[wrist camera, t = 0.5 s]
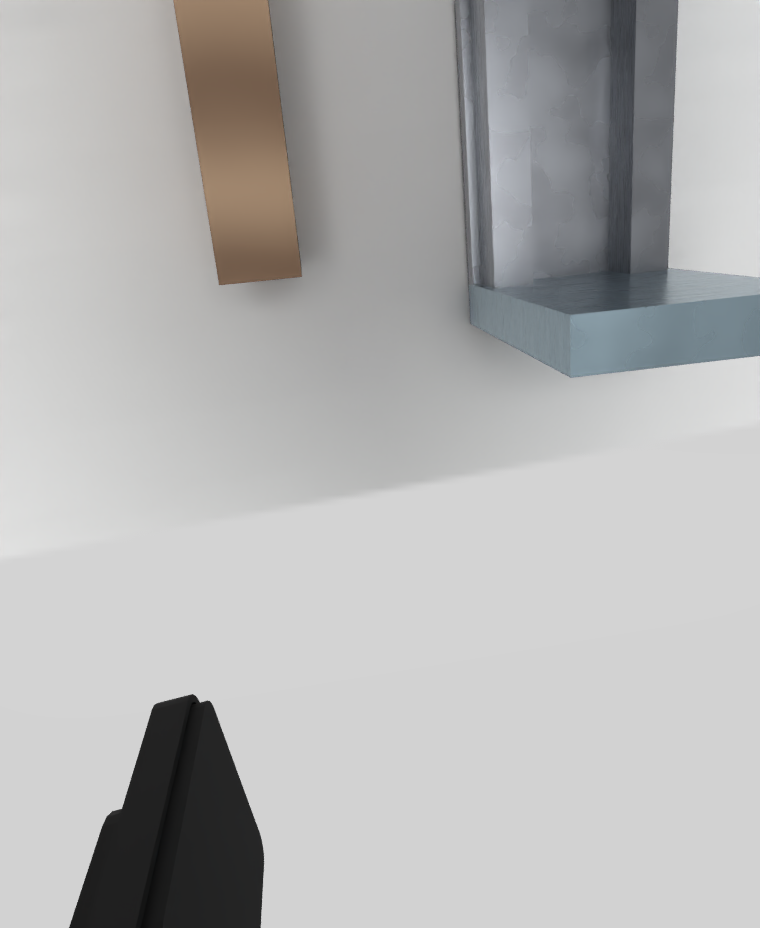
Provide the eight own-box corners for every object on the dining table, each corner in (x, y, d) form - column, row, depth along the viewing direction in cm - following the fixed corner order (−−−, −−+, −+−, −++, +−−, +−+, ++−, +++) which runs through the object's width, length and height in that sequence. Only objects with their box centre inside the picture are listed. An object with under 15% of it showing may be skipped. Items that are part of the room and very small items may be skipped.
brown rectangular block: (187, -73, 30) (141, -195, 21) (258, -77, 30) (242, -200, 21) (239, 271, 34) (219, 285, 26) (300, 265, 34) (301, 276, 26)
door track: (443, -217, 29) (566, -594, 16) (654, -227, 30) (943, -598, 16) (470, 323, 36) (570, 377, 23) (640, 305, 37) (833, 347, 23)
